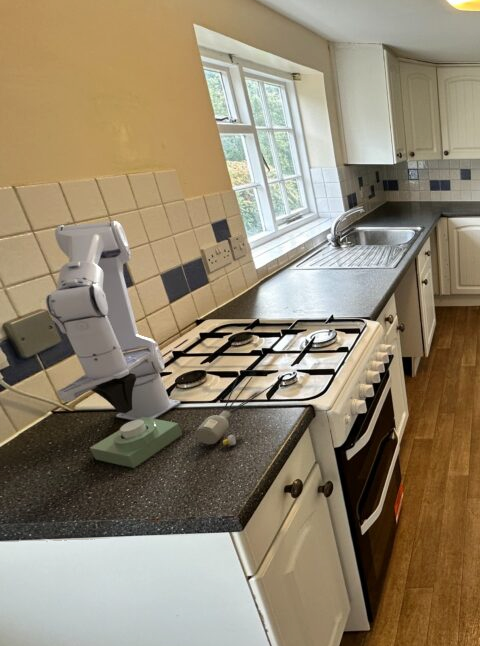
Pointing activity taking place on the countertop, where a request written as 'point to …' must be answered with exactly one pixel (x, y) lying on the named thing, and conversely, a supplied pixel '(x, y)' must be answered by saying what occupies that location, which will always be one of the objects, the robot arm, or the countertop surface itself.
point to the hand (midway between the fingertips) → (125, 410)
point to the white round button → (133, 429)
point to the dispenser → (137, 443)
